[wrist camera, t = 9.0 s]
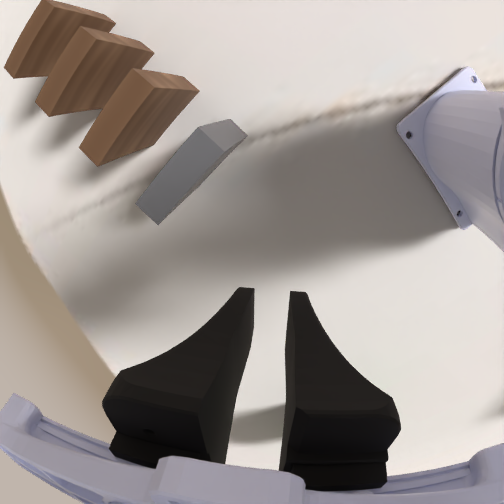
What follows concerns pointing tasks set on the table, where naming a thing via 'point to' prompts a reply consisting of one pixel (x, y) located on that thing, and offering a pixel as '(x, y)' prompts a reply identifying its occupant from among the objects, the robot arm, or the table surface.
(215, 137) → the domino
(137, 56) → the domino
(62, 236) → the table surface
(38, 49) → the domino
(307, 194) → the table surface
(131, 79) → the domino
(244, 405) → the table surface
